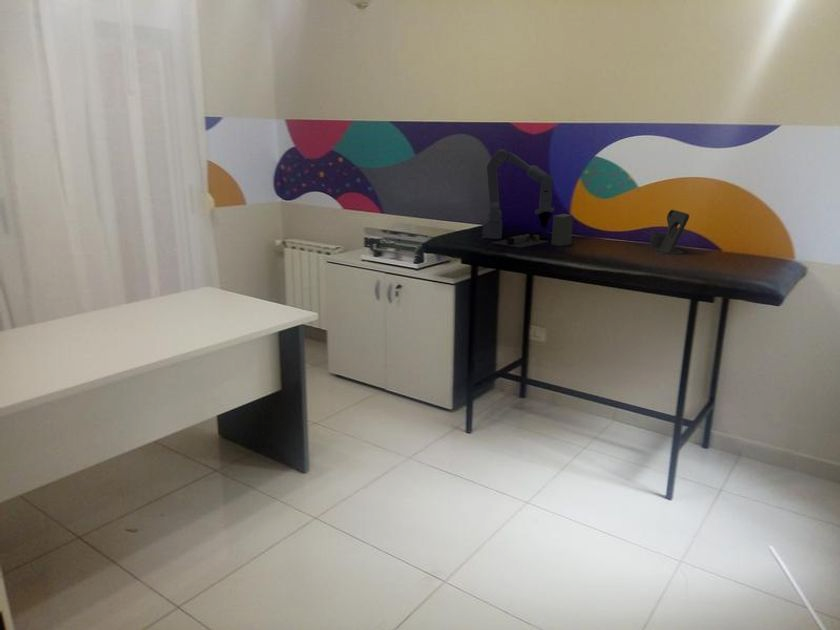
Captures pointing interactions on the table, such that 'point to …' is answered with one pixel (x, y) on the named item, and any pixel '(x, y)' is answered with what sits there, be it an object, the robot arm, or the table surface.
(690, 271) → the table surface
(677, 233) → the phone holder
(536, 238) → the block
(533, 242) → the mat
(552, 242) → the skincare box
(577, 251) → the table surface
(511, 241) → the bar
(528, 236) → the tongs fixed
